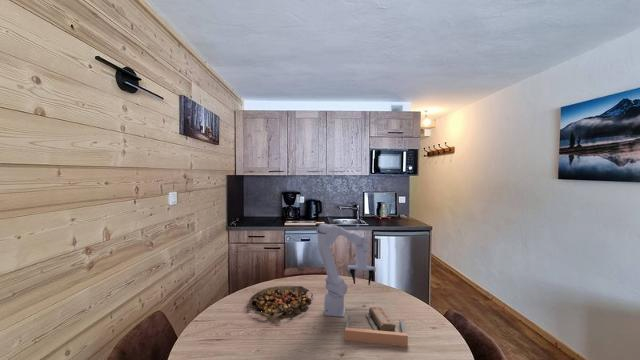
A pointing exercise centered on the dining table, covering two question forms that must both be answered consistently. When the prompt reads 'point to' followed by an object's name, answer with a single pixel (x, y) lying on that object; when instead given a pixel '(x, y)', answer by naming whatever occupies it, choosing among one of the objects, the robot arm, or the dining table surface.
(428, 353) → the dining table surface
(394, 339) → the channel
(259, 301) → the food dish
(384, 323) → the packaged product
